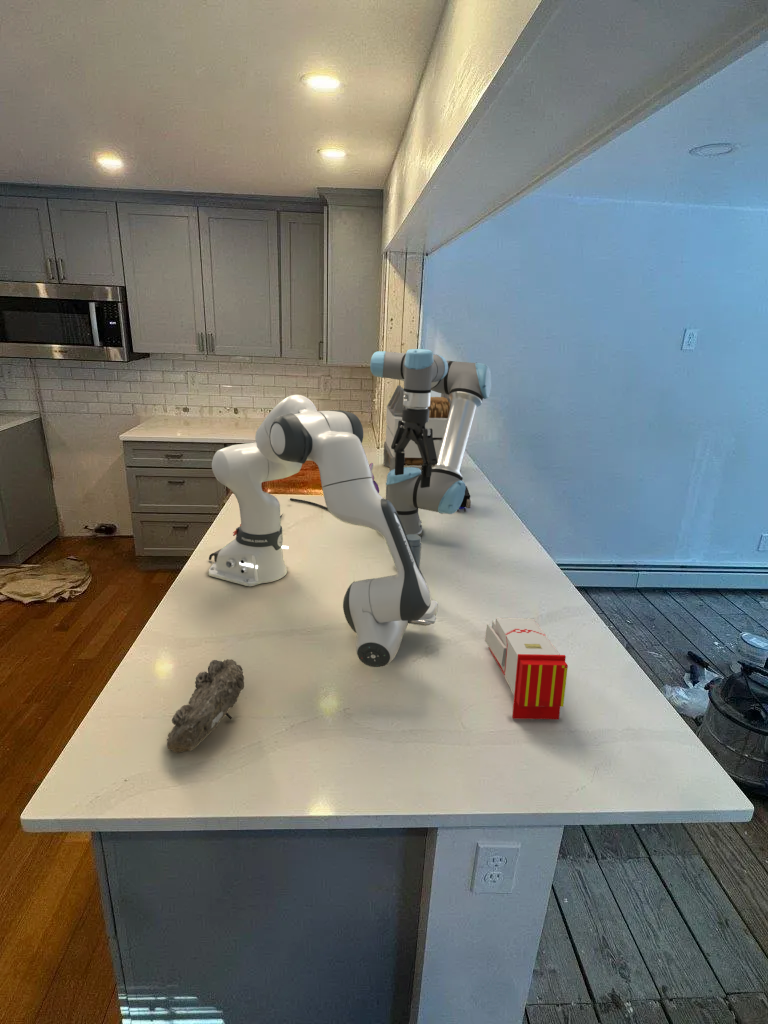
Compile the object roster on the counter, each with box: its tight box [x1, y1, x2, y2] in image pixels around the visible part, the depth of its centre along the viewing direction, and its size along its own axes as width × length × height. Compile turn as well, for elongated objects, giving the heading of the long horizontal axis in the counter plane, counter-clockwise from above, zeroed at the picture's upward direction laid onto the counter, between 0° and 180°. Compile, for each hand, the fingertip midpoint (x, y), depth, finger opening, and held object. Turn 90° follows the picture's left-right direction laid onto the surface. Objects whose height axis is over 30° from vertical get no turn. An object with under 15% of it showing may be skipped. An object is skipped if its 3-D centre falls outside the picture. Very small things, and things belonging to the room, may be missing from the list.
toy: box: [484, 617, 569, 720], centre depth 122 cm, size 12×13×30 cm
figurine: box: [369, 462, 380, 494], centre depth 232 cm, size 9×10×15 cm
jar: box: [406, 534, 423, 570], centre depth 155 cm, size 5×5×17 cm
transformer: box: [383, 384, 462, 474], centre depth 268 cm, size 34×33×41 cm
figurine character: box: [456, 485, 472, 513], centre depth 228 cm, size 7×8×15 cm
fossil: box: [166, 658, 245, 754], centre depth 106 cm, size 22×10×15 cm
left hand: (401, 591), depth 144 cm, fingers open, 8 cm apart
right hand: (411, 480), depth 164 cm, fingers open, 13 cm apart
